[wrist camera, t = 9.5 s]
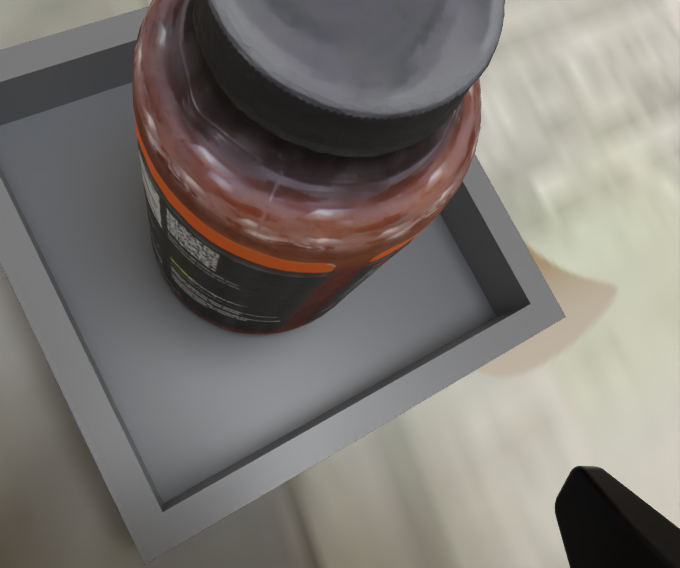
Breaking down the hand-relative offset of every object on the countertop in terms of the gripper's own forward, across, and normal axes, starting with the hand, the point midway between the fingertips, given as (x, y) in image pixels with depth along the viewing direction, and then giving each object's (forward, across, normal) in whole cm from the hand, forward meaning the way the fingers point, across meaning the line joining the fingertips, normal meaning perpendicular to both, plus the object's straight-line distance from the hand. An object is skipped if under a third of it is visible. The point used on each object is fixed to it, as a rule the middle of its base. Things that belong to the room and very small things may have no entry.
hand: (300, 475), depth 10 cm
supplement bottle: (+10, 0, +1) cm, 10 cm away
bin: (+11, 0, +2) cm, 11 cm away
